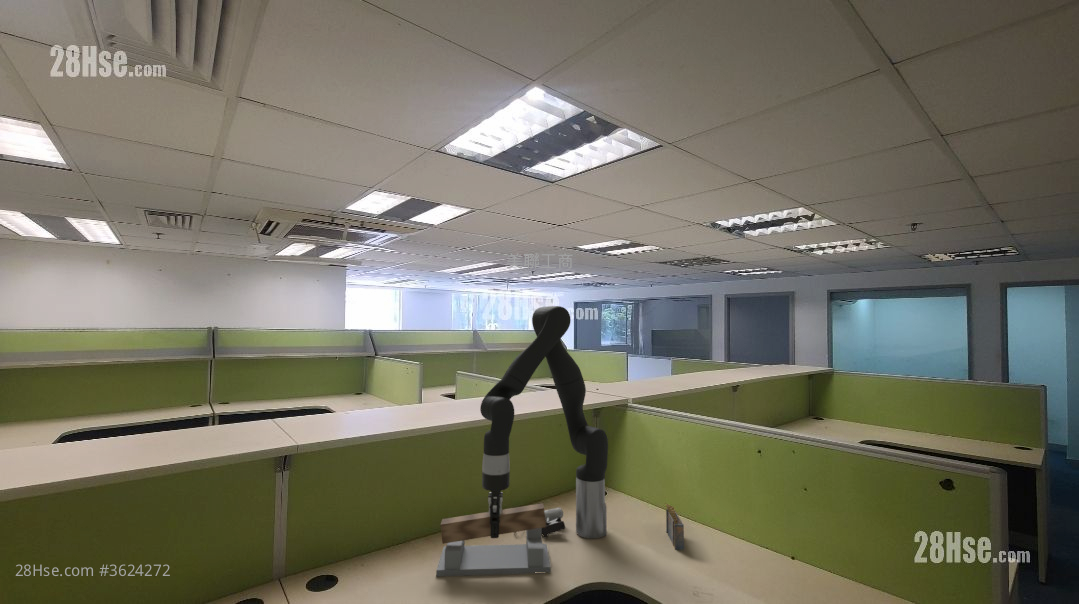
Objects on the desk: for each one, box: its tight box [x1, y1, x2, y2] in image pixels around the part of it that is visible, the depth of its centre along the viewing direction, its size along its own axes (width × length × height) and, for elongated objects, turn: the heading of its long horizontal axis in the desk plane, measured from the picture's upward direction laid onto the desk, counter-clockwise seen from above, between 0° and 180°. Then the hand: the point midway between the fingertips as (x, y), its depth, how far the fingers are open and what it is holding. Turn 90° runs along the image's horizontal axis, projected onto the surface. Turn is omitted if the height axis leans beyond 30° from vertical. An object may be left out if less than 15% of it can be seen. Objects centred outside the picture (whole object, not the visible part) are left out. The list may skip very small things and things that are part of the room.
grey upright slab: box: [664, 502, 685, 551], centre depth 135 cm, size 11×3×10 cm, turn 176°
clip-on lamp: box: [542, 507, 566, 538], centre depth 142 cm, size 12×6×18 cm
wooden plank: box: [440, 502, 546, 545], centre depth 119 cm, size 28×4×5 cm, turn 94°
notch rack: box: [435, 528, 552, 577], centre depth 122 cm, size 30×13×9 cm, turn 94°
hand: (494, 533), depth 119 cm, fingers closed on wooden plank, 3 cm apart
